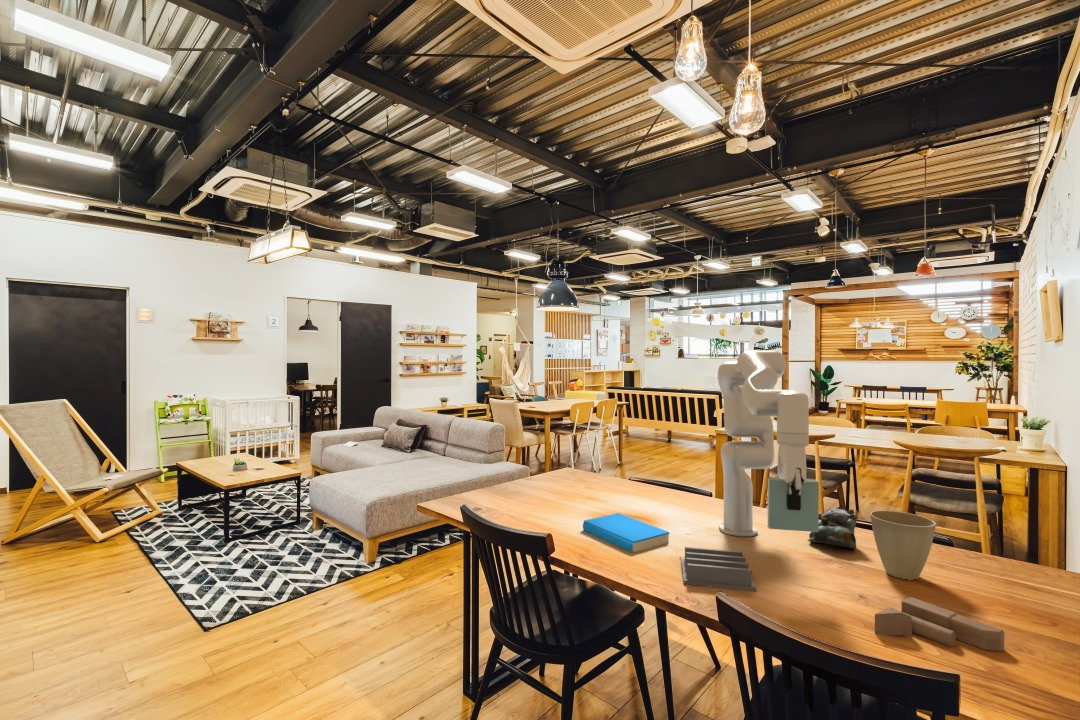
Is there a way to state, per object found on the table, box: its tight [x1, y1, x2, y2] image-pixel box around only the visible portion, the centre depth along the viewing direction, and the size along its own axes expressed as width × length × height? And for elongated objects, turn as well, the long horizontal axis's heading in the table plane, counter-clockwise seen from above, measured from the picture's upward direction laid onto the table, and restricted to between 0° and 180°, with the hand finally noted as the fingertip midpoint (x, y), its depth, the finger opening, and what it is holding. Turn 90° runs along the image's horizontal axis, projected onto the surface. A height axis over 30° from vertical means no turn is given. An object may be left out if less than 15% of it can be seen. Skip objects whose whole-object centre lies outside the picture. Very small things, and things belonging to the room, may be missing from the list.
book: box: [582, 512, 670, 553], centre depth 170 cm, size 17×4×25 cm
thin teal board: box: [767, 478, 820, 533], centre depth 131 cm, size 2×12×13 cm, turn 78°
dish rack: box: [680, 546, 757, 592], centre depth 138 cm, size 15×18×5 cm
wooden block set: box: [874, 596, 1005, 653], centre depth 106 cm, size 17×6×18 cm
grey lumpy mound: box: [807, 508, 858, 551], centre depth 162 cm, size 15×12×14 cm
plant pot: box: [869, 510, 937, 581], centre depth 139 cm, size 15×15×16 cm
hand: (792, 508), depth 131 cm, fingers closed on thin teal board, 1 cm apart
